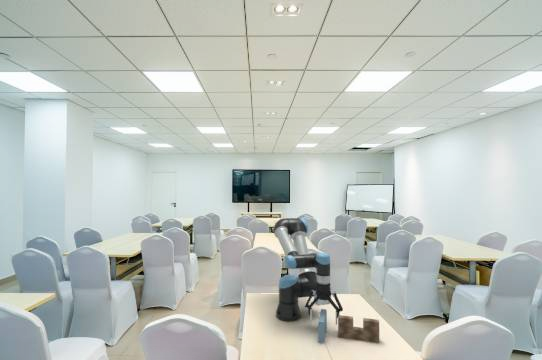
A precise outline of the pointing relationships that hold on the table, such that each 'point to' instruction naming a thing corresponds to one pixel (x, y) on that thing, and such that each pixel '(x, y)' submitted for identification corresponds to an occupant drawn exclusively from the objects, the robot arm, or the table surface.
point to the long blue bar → (322, 325)
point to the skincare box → (322, 300)
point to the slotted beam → (358, 329)
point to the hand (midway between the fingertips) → (323, 322)
